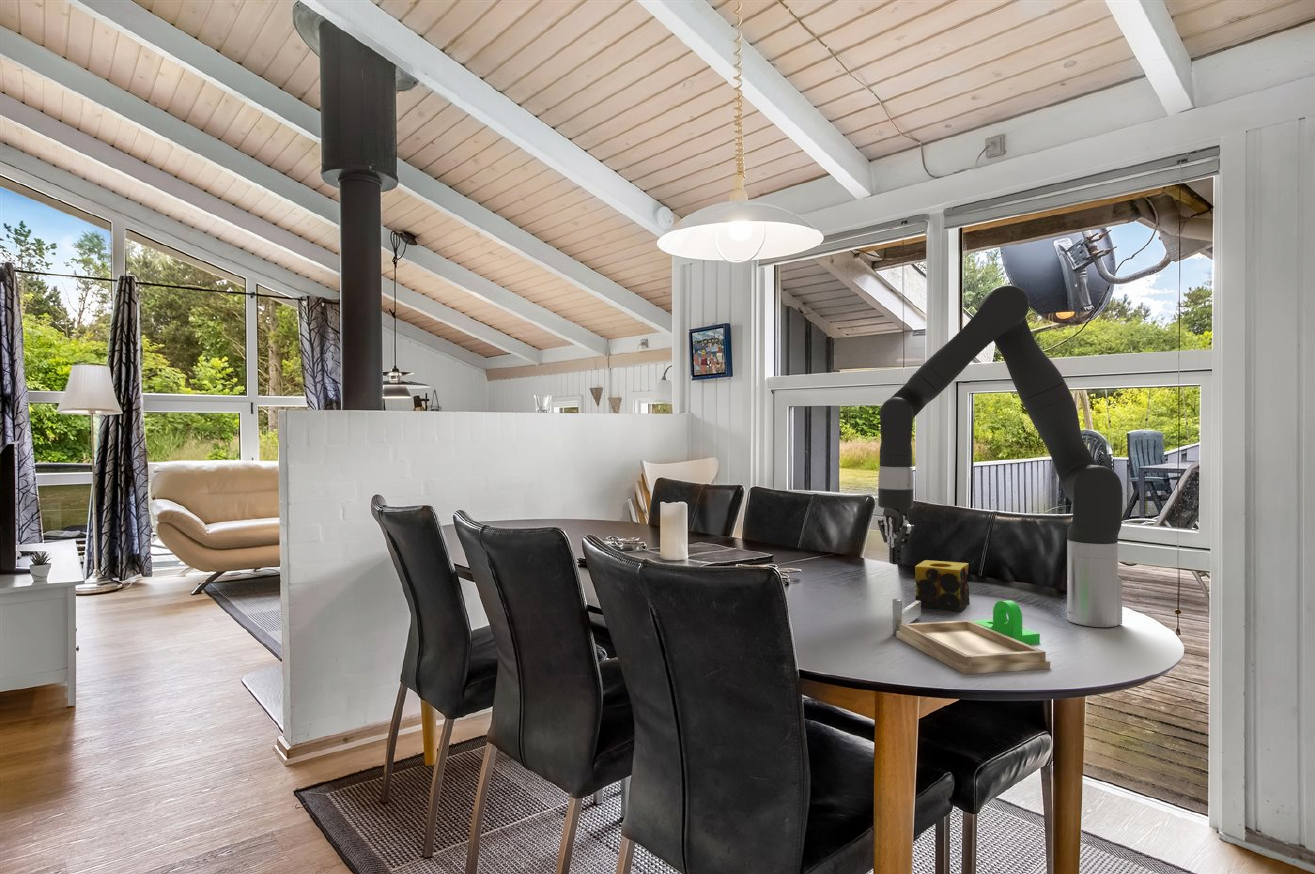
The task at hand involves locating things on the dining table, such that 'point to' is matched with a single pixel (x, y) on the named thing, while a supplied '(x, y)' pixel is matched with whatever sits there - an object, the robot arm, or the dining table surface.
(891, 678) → the dining table surface
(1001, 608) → the mechanical part
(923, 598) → the yellow spotted cube
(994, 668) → the wooden tray
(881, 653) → the dining table surface
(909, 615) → the l-shaped metal bracket
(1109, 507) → the robot arm
